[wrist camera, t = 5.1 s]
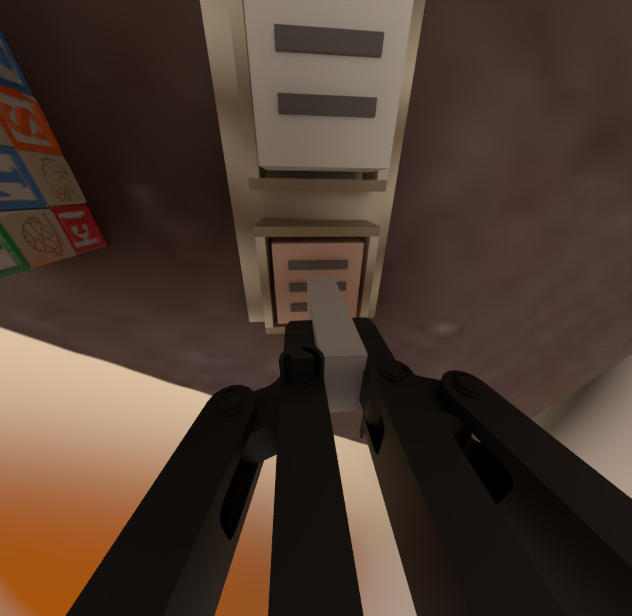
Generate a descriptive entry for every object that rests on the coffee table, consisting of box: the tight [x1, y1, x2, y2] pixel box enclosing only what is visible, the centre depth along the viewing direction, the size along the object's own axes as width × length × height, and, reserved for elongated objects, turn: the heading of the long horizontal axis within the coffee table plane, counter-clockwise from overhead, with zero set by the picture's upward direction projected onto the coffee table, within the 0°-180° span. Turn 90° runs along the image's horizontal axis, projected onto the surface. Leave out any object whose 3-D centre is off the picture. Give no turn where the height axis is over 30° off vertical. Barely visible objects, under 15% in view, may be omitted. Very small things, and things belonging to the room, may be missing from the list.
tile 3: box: [272, 237, 364, 324], centre depth 17 cm, size 6×6×4 cm
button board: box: [200, 0, 425, 334], centre depth 13 cm, size 30×12×5 cm, turn 179°
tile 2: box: [243, 0, 414, 173], centre depth 10 cm, size 6×6×4 cm
